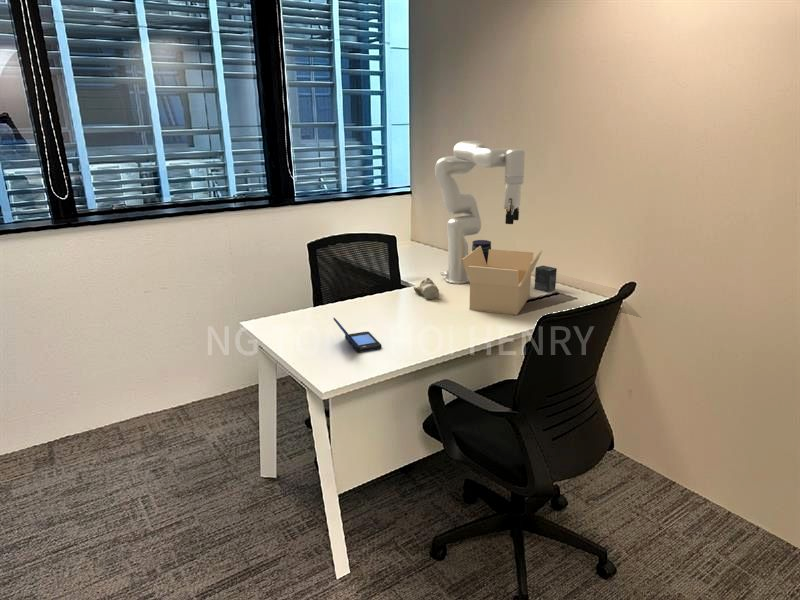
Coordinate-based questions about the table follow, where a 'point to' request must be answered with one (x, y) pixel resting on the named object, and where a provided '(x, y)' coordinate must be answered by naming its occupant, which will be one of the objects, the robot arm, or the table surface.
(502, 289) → the carton
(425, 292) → the ceramic sculpture
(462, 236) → the robot arm
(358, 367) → the table surface
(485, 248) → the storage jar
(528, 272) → the flap
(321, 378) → the table surface
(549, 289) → the box
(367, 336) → the handheld device with antenna
